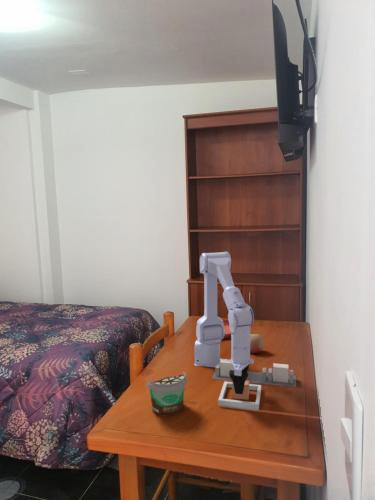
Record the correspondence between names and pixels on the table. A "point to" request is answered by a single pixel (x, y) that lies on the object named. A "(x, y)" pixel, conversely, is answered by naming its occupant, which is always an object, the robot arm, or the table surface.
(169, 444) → the table surface
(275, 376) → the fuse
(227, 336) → the plant saucer
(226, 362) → the block
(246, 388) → the block
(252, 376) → the rail
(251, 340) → the fruit
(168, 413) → the food container
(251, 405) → the tray
